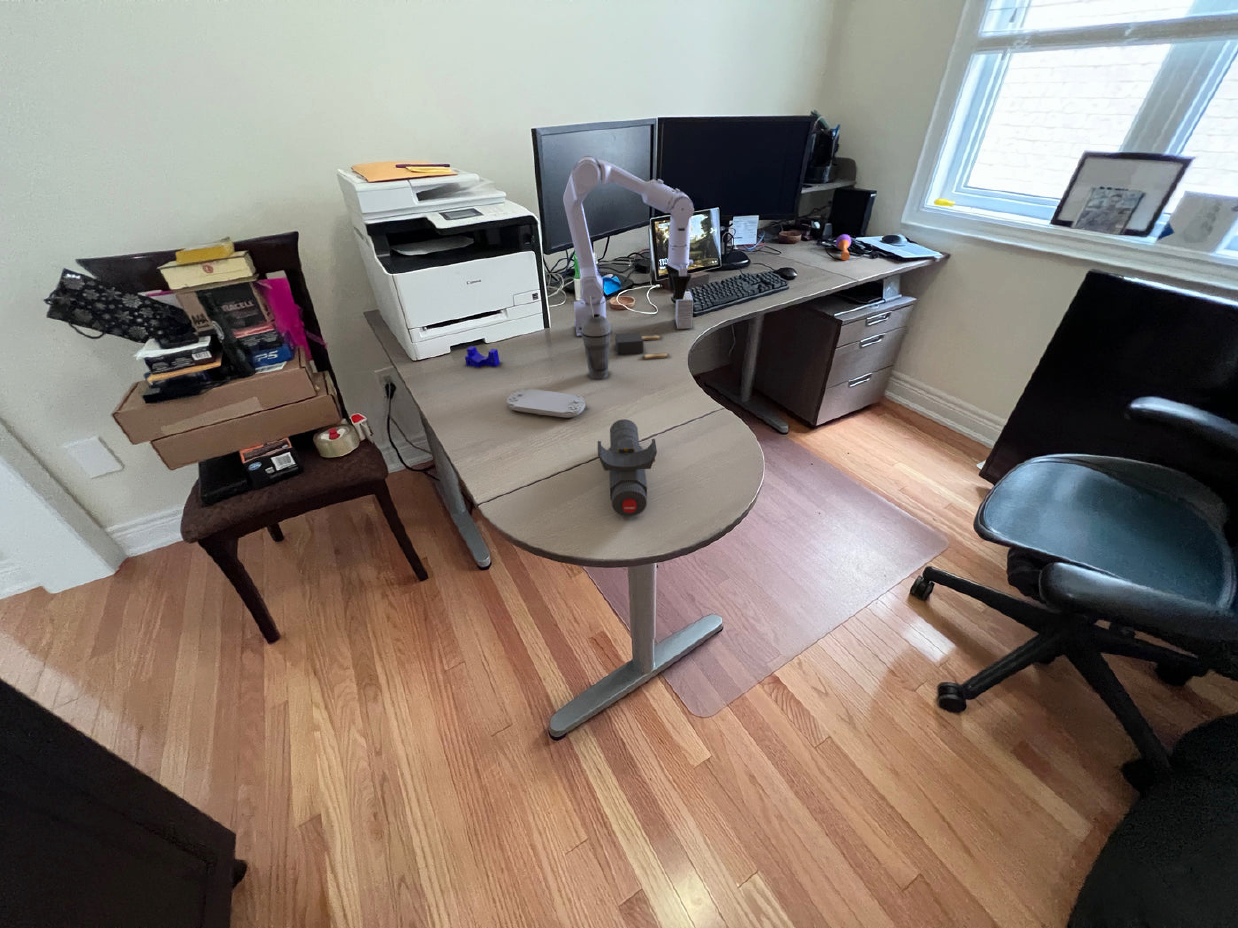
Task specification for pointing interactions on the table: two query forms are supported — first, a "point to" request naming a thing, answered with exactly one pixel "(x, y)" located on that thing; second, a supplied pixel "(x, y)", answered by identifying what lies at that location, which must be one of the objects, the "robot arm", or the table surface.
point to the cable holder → (481, 358)
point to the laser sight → (627, 467)
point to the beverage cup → (596, 343)
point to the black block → (629, 343)
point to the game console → (546, 403)
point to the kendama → (843, 246)
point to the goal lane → (648, 356)
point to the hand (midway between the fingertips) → (676, 294)
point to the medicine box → (684, 311)
